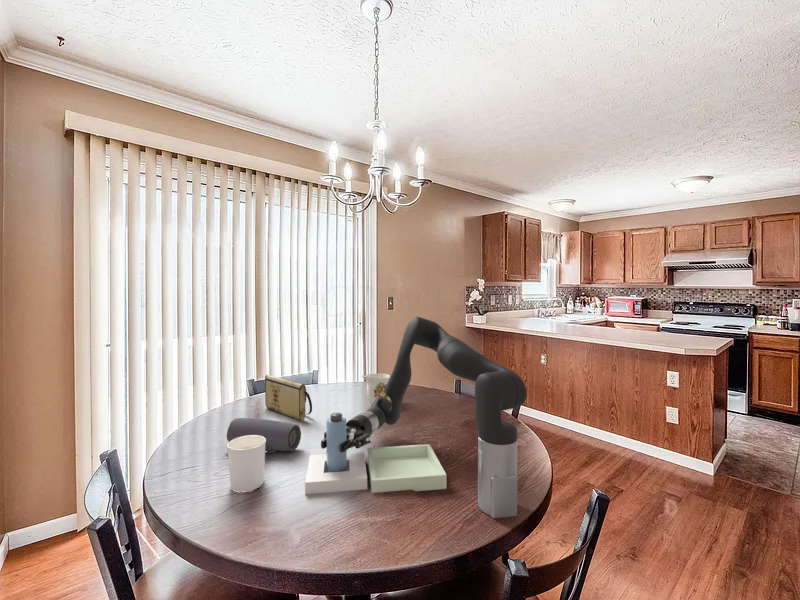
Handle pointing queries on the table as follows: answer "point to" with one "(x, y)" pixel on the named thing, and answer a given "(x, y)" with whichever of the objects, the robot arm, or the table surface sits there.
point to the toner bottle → (336, 443)
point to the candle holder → (246, 462)
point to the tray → (405, 469)
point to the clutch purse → (286, 397)
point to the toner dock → (336, 475)
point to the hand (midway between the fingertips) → (331, 446)
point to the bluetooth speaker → (267, 432)
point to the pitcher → (376, 386)
